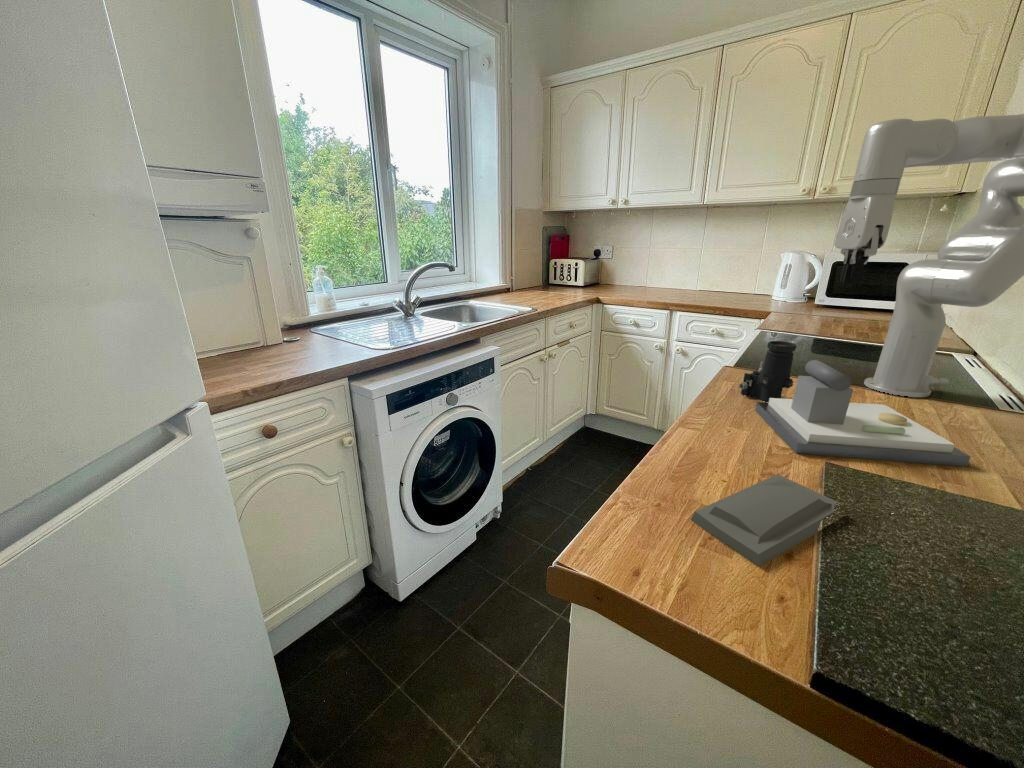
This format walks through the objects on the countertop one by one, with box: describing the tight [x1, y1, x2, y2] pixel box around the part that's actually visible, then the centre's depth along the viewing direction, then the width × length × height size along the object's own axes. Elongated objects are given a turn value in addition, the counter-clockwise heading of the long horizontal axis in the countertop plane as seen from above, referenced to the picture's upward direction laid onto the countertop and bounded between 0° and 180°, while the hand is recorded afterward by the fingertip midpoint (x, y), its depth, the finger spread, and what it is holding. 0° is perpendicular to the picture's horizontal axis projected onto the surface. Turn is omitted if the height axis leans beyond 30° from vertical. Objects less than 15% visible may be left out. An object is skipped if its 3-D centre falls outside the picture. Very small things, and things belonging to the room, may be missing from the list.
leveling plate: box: [768, 359, 956, 452], centre depth 78 cm, size 22×18×12 cm
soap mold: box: [690, 473, 843, 568], centre depth 56 cm, size 10×20×4 cm, turn 118°
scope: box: [738, 340, 797, 402], centre depth 96 cm, size 8×14×10 cm
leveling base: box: [754, 401, 971, 468], centre depth 80 cm, size 26×20×2 cm
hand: (849, 282), depth 90 cm, fingers closed
